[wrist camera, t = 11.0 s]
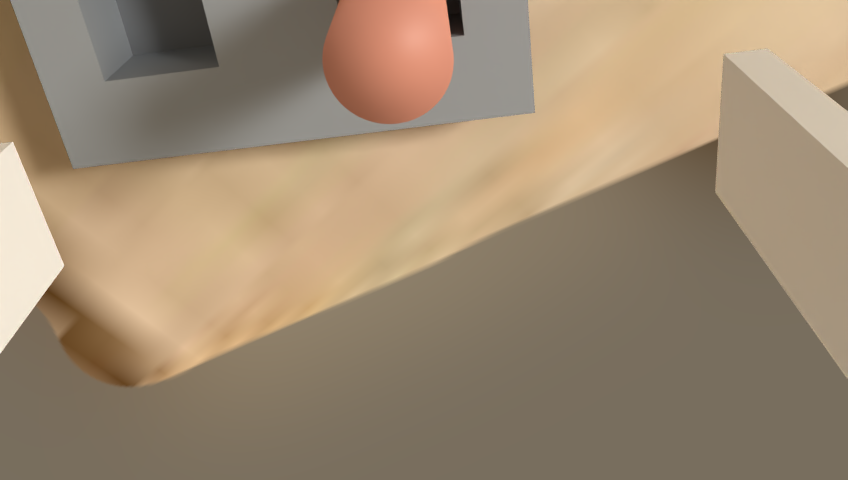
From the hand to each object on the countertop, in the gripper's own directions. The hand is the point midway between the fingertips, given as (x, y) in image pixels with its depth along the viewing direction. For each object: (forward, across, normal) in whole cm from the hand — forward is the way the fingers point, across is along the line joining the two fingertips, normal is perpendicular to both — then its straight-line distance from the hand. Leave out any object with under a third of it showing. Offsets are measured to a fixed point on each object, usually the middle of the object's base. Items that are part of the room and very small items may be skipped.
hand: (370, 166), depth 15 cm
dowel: (+22, 0, -1) cm, 22 cm away
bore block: (+22, -5, -1) cm, 23 cm away
